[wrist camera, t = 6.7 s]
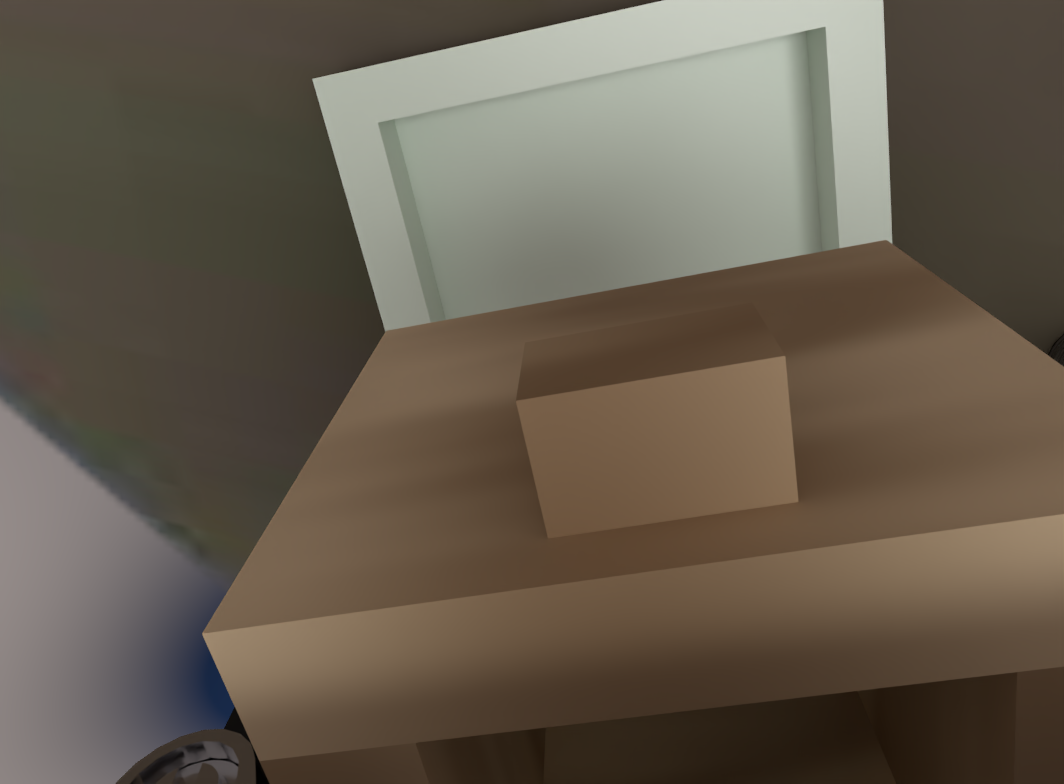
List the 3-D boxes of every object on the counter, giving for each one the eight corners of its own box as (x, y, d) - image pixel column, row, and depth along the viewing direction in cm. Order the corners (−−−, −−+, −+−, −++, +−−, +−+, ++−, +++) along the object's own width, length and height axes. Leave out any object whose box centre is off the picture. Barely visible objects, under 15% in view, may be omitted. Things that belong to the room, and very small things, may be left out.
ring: (882, 151, 9) (1260, 316, 4) (904, 700, 12) (1134, 1181, 7) (364, 252, 10) (142, 498, 5) (506, 746, 13) (462, 1210, 8)
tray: (870, 430, 24) (901, 471, 22) (456, 493, 26) (445, 539, 24) (846, -40, 20) (881, -49, 17) (341, 73, 21) (312, 79, 19)
